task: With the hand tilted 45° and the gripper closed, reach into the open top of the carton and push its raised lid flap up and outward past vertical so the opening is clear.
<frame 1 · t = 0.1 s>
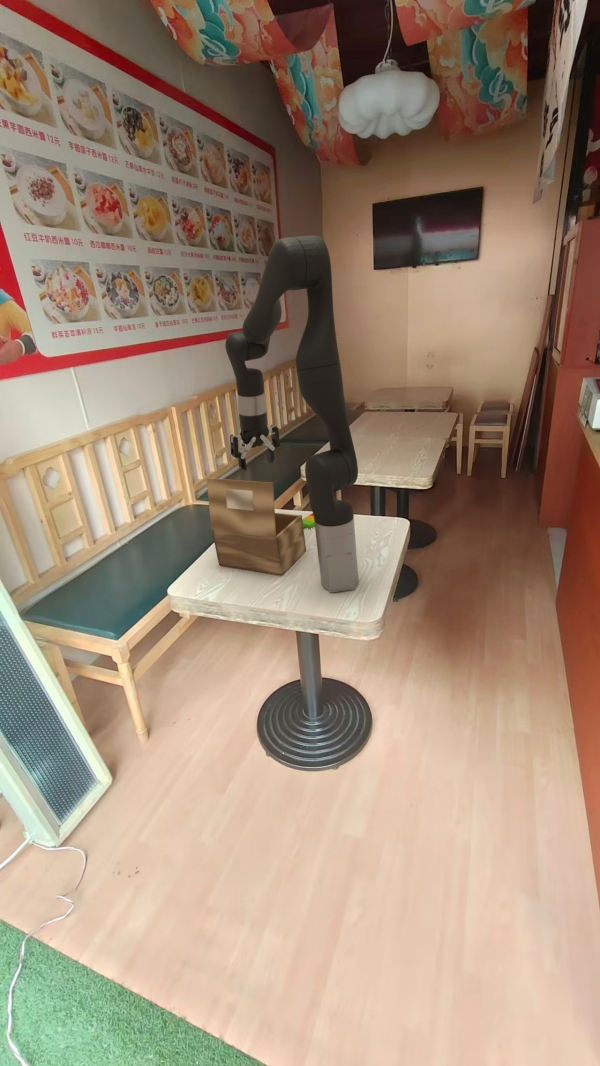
hand: (257, 465, 146), 22 cm above the table, tool pointing down, fingers open, 8 cm apart
carton: (262, 558, 144), on the table
carton flap: (240, 507, 131), point 18 cm above the table, hinge at 80.0°
popsicle: (307, 527, 160), on the table
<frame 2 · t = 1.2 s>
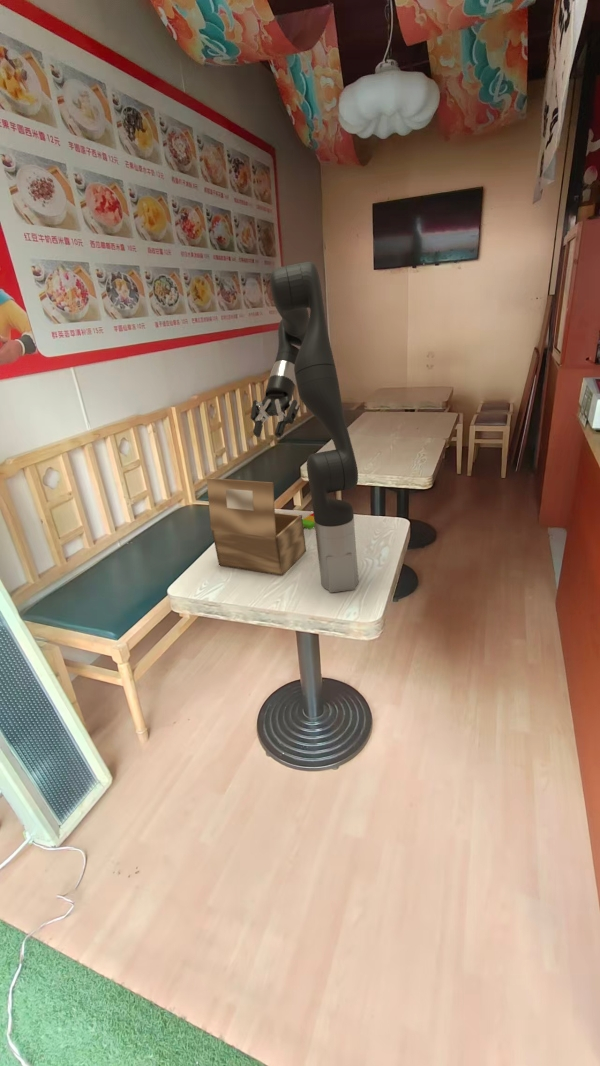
hand: (267, 435, 139), 32 cm above the table, tool tilted 45°, fingers open, 6 cm apart
nothing on the table moved.
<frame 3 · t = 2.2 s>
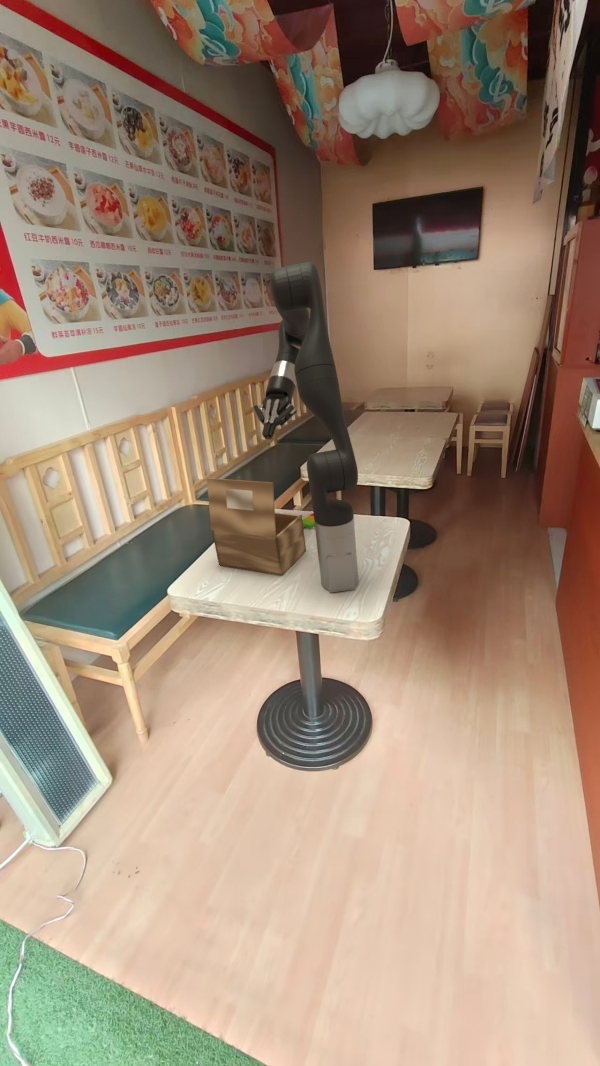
hand: (266, 437, 139), 31 cm above the table, tool tilted 45°, fingers closed
nothing on the table moved.
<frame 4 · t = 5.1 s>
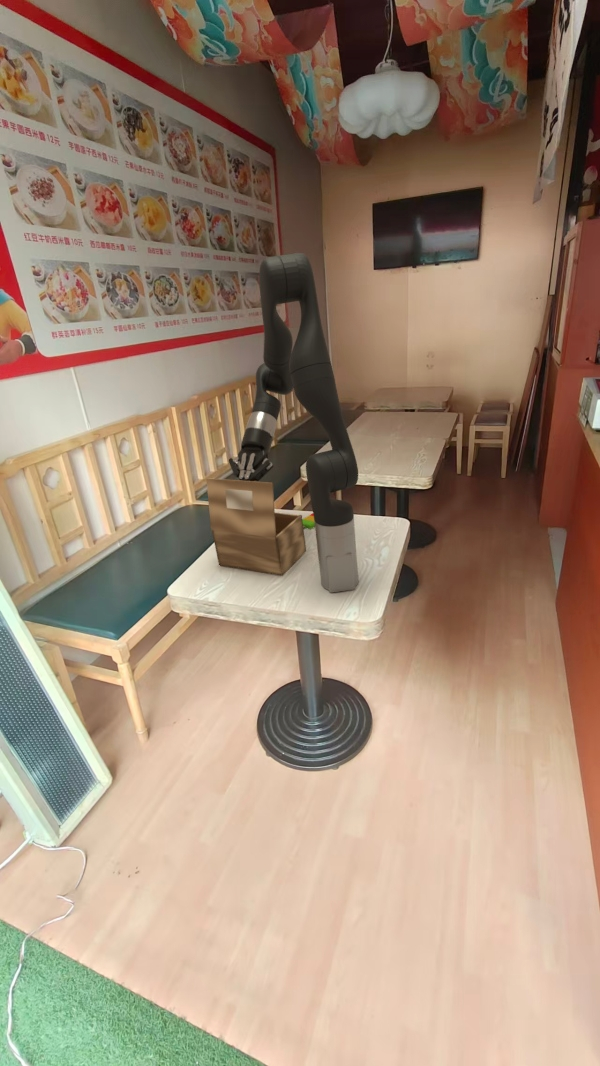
hand: (241, 494, 131), 21 cm above the table, tool tilted 45°, fingers closed
carton flap: (240, 507, 131), point 18 cm above the table, hinge at 80.8°, touching gripper
everything else where it was.
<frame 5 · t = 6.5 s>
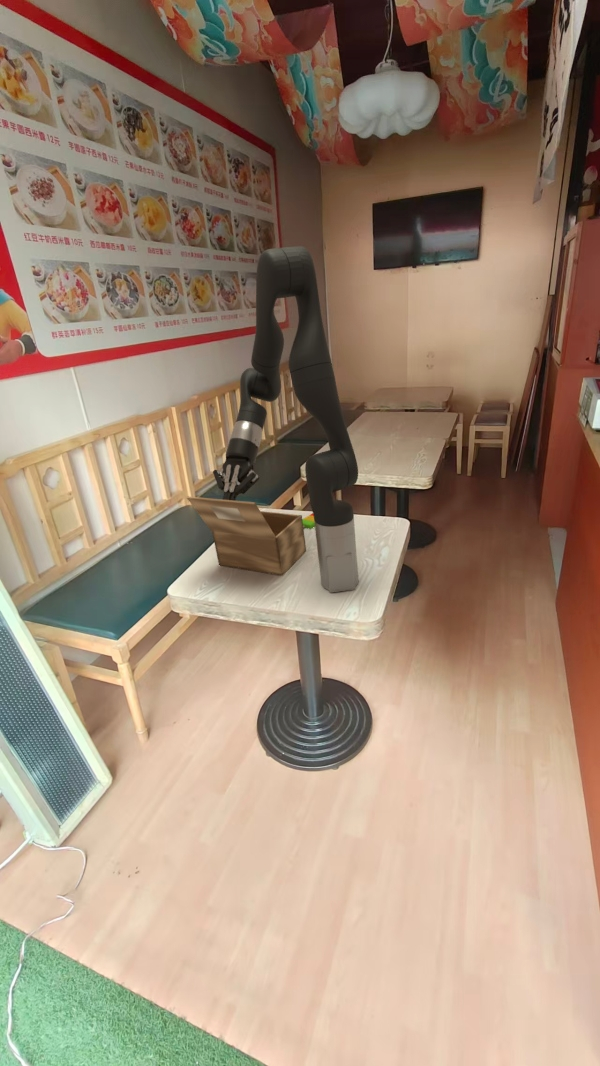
hand: (226, 508, 126), 20 cm above the table, tool tilted 45°, fingers closed
carton flap: (231, 517, 128), point 17 cm above the table, hinge at 118.6°, touching gripper
everything else where it was.
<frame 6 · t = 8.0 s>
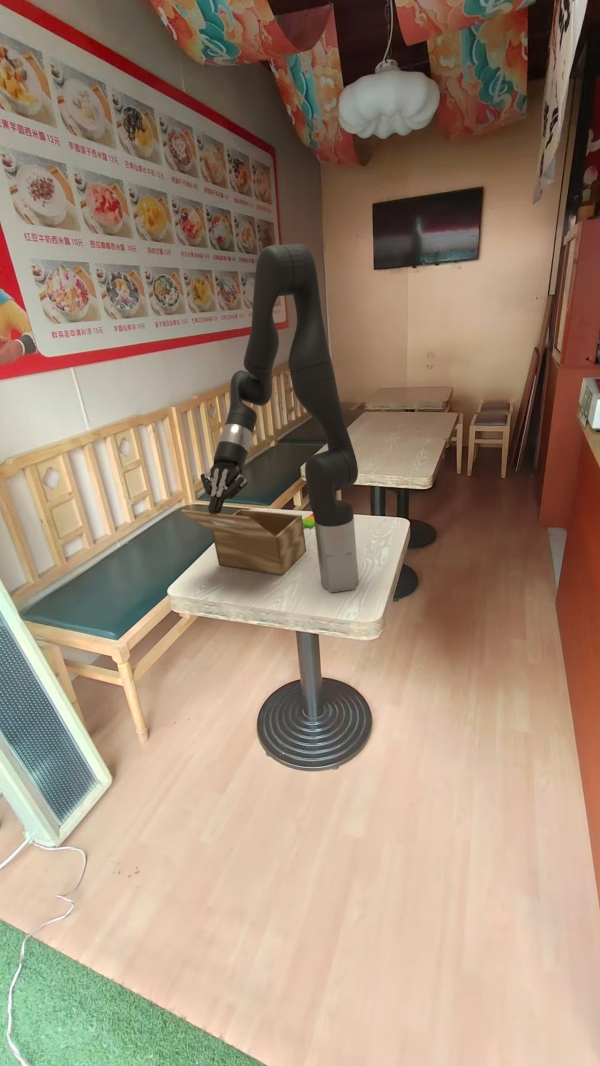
hand: (213, 513, 122), 21 cm above the table, tool tilted 45°, fingers closed
carton flap: (228, 524, 127), point 16 cm above the table, hinge at 134.2°, touching gripper
everything else where it was.
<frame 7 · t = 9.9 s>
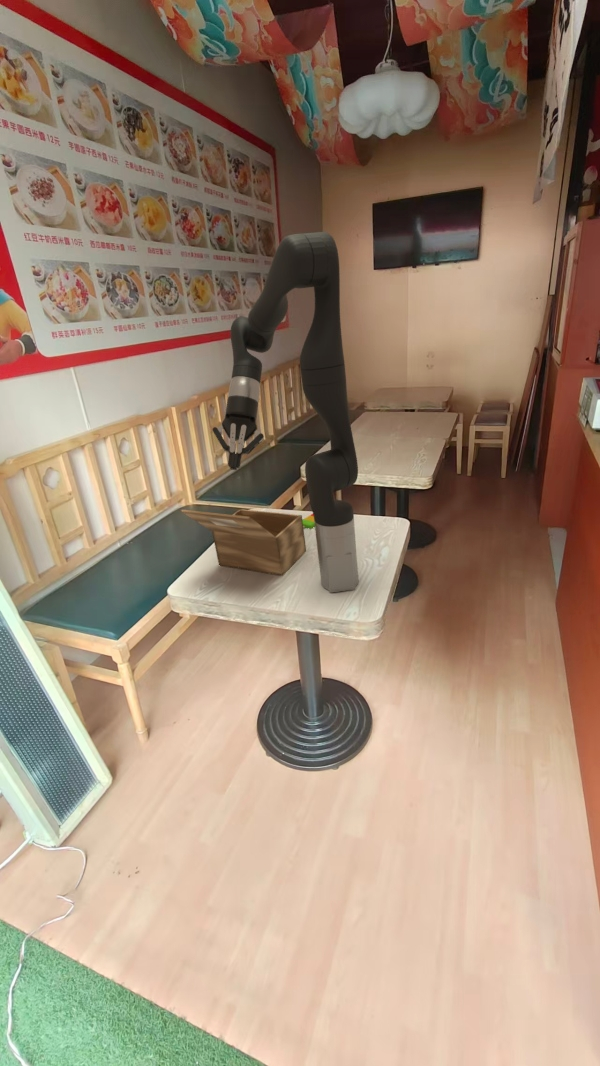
hand: (233, 469, 125), 29 cm above the table, tool tilted 35°, fingers closed
carton flap: (228, 524, 127), point 16 cm above the table, hinge at 134.2°
everything else where it was.
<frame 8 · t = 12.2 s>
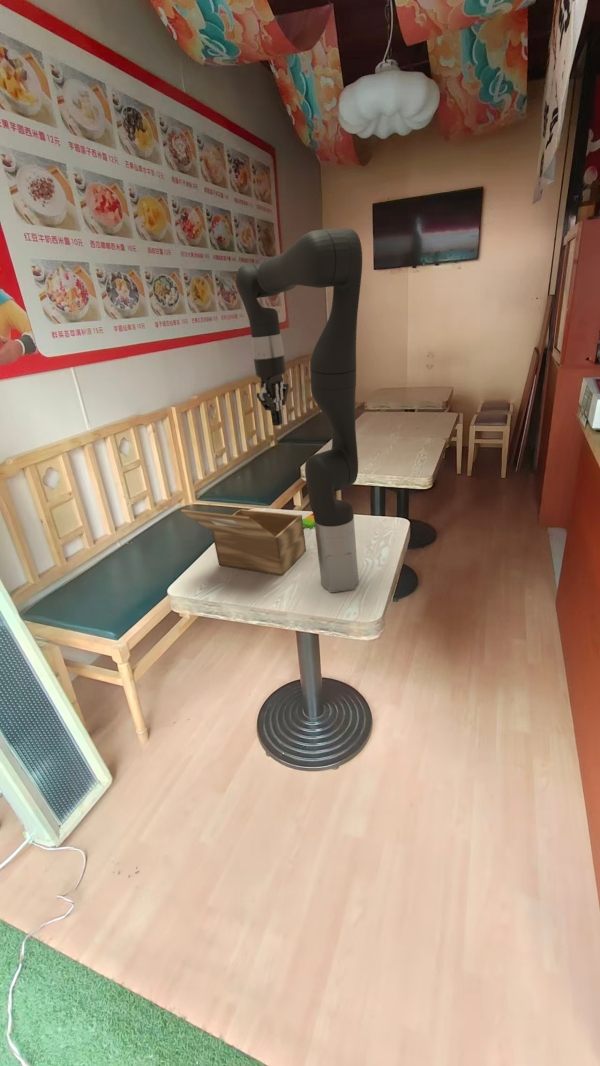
hand: (277, 424, 134), 35 cm above the table, tool pointing down, fingers closed
nothing on the table moved.
at the end: carton flap at +134° (first picture: +80°); popsicle moved 0.8 cm from its start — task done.
